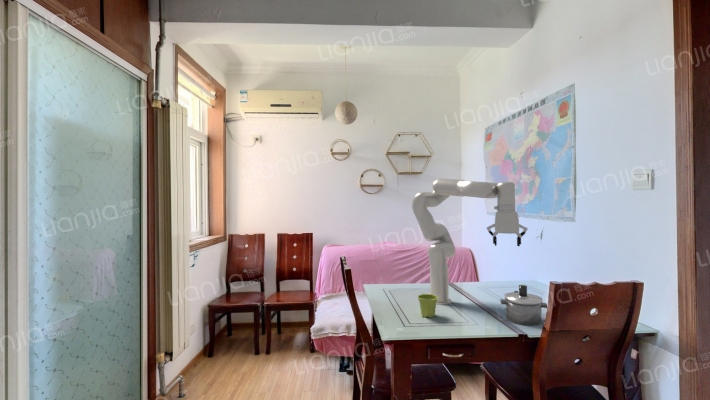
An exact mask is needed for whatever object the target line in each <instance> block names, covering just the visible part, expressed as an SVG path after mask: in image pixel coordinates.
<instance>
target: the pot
mask: <svg viewBox="0 0 710 400" xmlns="http://www.w3.org/2000/svg"><path fill="white" fill-rule="evenodd" d="M500 304H501V305H505V310H506V311H505V312H506V313H505V318H506V320H507V321H509V322H510V323H512V324H516V325H520V326H526V327H527V326H529V327H535V325H536V326H539V325H542V323H543V321H542V319H543V318H542V314H543V313H542V309H548V308H547V305H548V304H547V303H546V302H542V303H541V304H538V305H524V304H517V303H513V302H510V301H507V300H506V299H505V298H504V299H502V298H501V299H500Z"/></svg>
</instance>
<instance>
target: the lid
mask: <svg viewBox="0 0 710 400" xmlns="http://www.w3.org/2000/svg"><path fill="white" fill-rule="evenodd" d="M518 292H519V293H518ZM518 292H514V291H512V292H507V293H505V294H504V300H507V301H510V302H513V303H517V304H524V305H538V304H541V303H544V302H543V298H542V297H541V296H539V295H537V294H532V293H528V285H525V284H519V285H518Z"/></svg>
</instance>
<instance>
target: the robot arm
mask: <svg viewBox="0 0 710 400" xmlns="http://www.w3.org/2000/svg"><path fill="white" fill-rule="evenodd" d="M432 190H433V191H421V192H418V193H416V194H415V196H413V198H412V202H411V209H412V211H413V214H414V217H415V218H416V220H417V223H418V225H419V228H420V231H421V234H422V235H423V237H424V239H425V240H426V241H427V242H434V243H432V244H431V245H430V246H429V247H428V251H427V254H428V260H429V279H430V280H429V282H430V283H429V286H430V287H429V288H430V289H429V290H430V291H429V292H422V293H421V295H422V294H431V295H435V296H437V297H438V299H437V302H436V305H441V306H443V305H444V306H445V305H450V304H452V302H453V301H452V299H451V298H449V297H450V296H449V290H450V289H449V288H450V286H449V285H450V284H449V265H448V261H447V260H448V259H451V258H452V257H454V256H455V254H456V247H455V244H454V242H453V239H452V236H451V235H450V232H449V230H448V229H447V227H446V226H445V225H444V224H442V223H436V221H435V219H434V218H433V217H434V216H433V215H432V213H431V211H429V209H428V208H436V207H438V206H439V205H441V204H442V203H443V202H444V201H446V200H447V199H448V198H449V197H450V196H451V197H452V196H453V197H463V198H464V197H468V198H469V197H470V198H477V199H478V198H481V199H497V201H496V202H497V205H496V206H494V207H493V208H494V210H497V211H496V212H495V214H494V215H495V216H494V223H493V224H491V225H489V226H487V227H486V230H487V231H488V233H489V235H491V237H492V244H493V245H494V246H495V247H496V246H497V243H498V241H497V236H498V234H509V235H510V234H511V235H512V234H515V235H516V246H517V247H520V245H522V238H523V236H524V235H526V233H527V231H528V227H526V226H524V225H522V224H520V220H519V214H518V211H516V184H515V183H514V182H512V181H501V182H497V183H496V182H489V181H473V180H472V181H471V180H470V181H469V180H464V179H453V178H452V179H451V178H437V179H436V180H435V181H433V184H432ZM493 228H494V232H493V231H492V230H491V229H493ZM520 229H522V231H521V233H520Z"/></svg>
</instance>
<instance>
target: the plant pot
mask: <svg viewBox="0 0 710 400" xmlns="http://www.w3.org/2000/svg"><path fill="white" fill-rule="evenodd" d="M417 298H418V301H419V302H418V303H419V308H420V315H421V316H422V317H424V318H427V317H428V318H433V317H435V315H436V309H437V308H436V306H437V304H436V302H437V299H438V297H437V296H435V295H431V294H422V293H421V294H419V295H417Z"/></svg>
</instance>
